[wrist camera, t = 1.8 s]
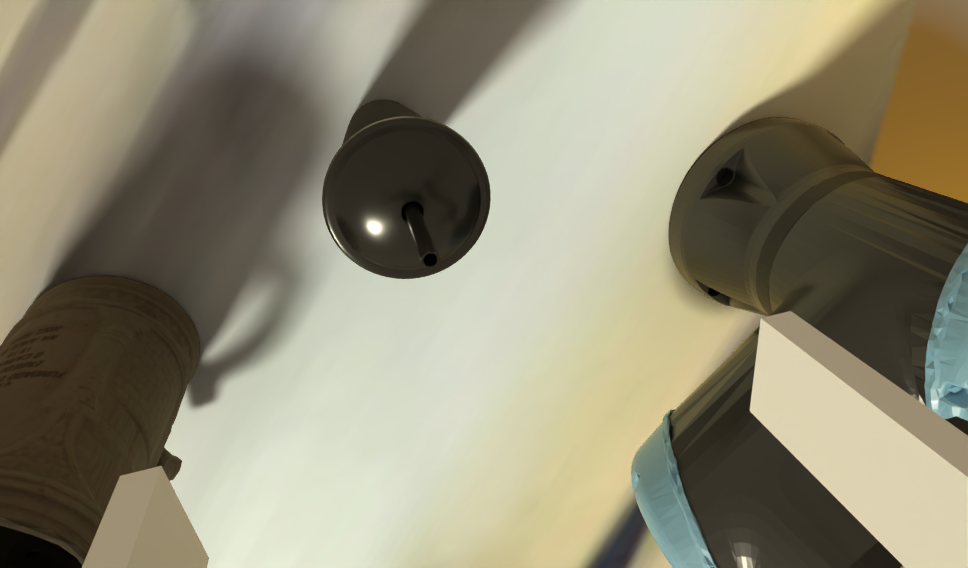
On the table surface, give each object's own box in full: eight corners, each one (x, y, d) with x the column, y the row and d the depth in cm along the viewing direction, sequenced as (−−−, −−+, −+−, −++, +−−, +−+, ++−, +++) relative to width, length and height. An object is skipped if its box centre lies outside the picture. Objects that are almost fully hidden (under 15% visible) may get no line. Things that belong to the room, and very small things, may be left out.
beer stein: (-30, 317, 38) (-291, 619, 21) (116, 235, 38) (-32, 474, 21) (146, 454, 46) (59, 746, 30) (266, 387, 46) (245, 644, 29)
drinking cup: (389, 49, 37) (446, 106, 19) (464, 143, 40) (569, 264, 23) (297, 129, 37) (271, 255, 20) (379, 215, 41) (417, 384, 24)
